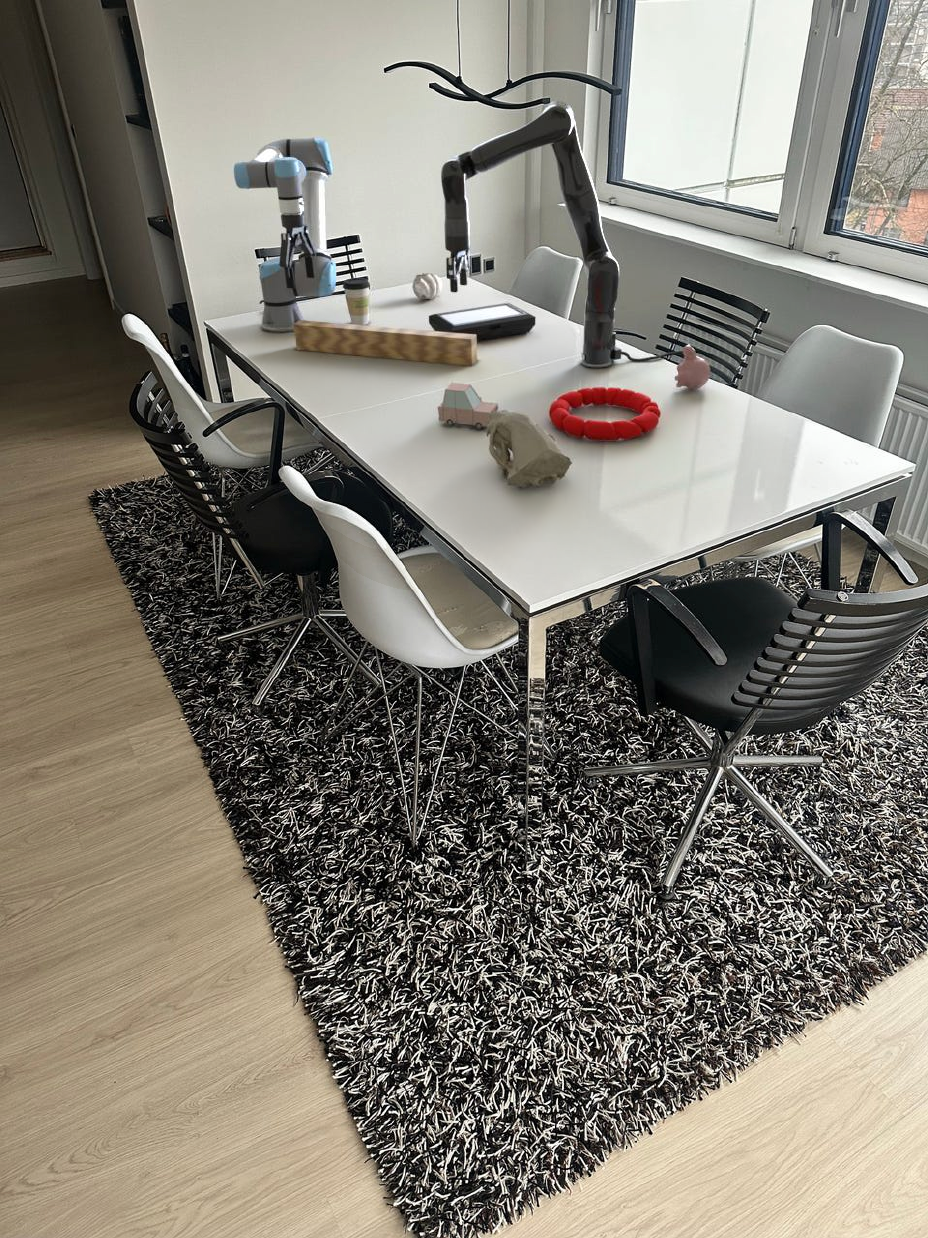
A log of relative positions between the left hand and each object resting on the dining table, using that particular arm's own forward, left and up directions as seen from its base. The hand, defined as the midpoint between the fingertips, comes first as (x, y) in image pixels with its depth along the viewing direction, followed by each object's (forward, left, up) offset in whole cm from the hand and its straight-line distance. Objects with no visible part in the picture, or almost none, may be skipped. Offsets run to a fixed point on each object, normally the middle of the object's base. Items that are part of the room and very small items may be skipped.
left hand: (301, 282), depth 292 cm
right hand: (+28, +48, +1) cm, 55 cm away
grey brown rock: (+112, +48, -22) cm, 123 cm away
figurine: (+69, +109, -22) cm, 131 cm away
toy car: (+79, +41, -22) cm, 91 cm away
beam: (+14, +24, -22) cm, 35 cm away
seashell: (-50, +48, -22) cm, 73 cm away
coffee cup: (-24, +19, -22) cm, 38 cm away
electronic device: (-2, +60, -22) cm, 64 cm away
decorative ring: (+87, +77, -22) cm, 118 cm away
